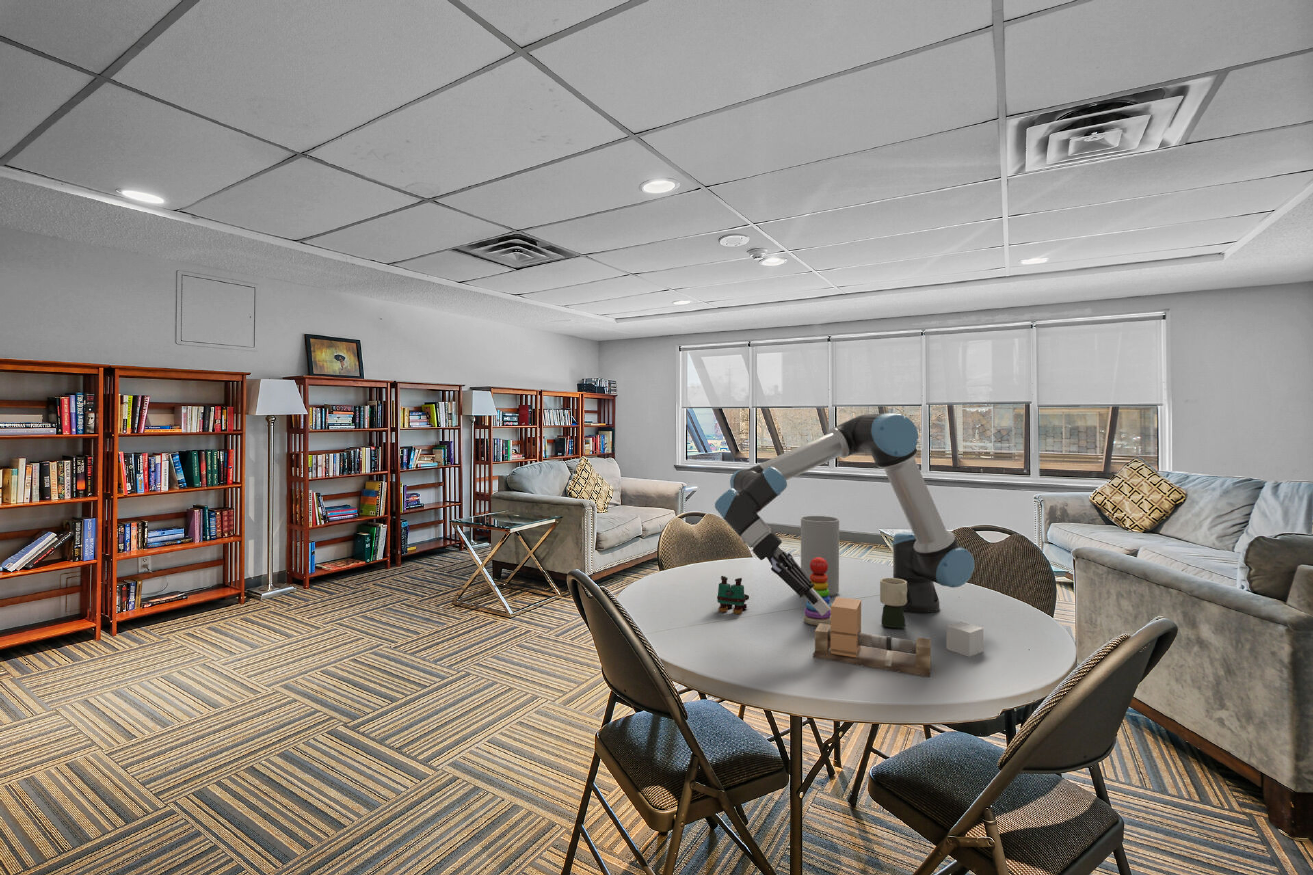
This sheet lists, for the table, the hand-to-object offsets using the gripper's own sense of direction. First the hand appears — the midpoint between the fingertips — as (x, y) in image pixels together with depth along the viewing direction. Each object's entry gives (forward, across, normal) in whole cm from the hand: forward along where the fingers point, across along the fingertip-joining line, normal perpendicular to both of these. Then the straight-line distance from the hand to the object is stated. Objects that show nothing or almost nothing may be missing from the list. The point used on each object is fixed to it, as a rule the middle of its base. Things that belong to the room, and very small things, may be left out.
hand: (826, 611), depth 149 cm
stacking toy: (+3, -22, -12) cm, 25 cm away
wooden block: (+10, 0, -3) cm, 10 cm away
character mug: (+17, -27, +2) cm, 32 cm away
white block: (+30, -17, +15) cm, 37 cm away
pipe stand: (+15, 0, 0) cm, 15 cm away
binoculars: (-15, -23, -30) cm, 41 cm away
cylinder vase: (-1, -53, -16) cm, 55 cm away
